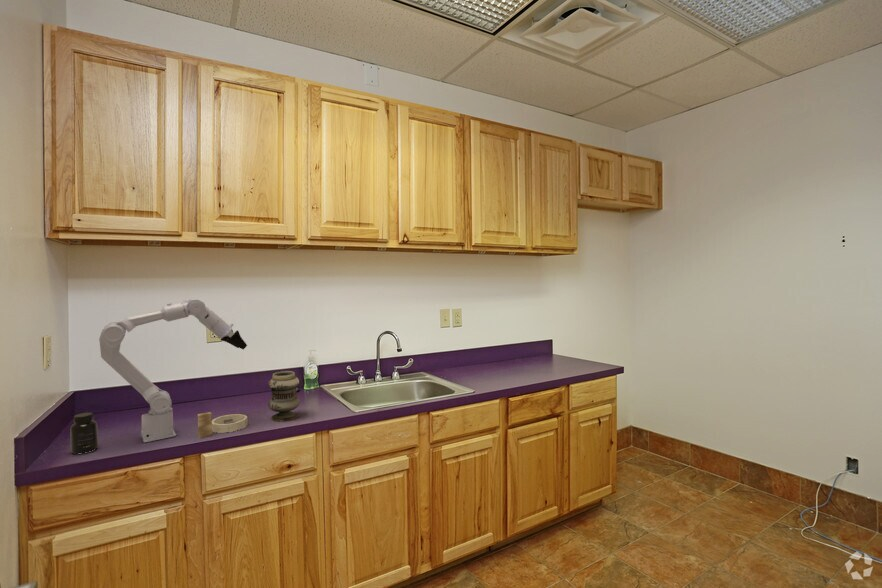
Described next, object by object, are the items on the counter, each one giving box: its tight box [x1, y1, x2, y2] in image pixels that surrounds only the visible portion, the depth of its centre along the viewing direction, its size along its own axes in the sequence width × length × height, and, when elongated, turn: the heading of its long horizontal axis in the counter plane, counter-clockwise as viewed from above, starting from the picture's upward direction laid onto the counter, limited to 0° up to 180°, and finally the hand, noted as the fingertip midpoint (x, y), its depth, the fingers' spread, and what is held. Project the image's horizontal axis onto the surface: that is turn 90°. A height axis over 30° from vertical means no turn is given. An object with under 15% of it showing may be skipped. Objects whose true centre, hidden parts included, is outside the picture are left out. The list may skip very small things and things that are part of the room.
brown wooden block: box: [197, 411, 213, 439], centre depth 152 cm, size 4×2×8 cm, turn 130°
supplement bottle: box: [69, 412, 99, 455], centre depth 139 cm, size 7×7×12 cm
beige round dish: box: [212, 413, 249, 434], centre depth 161 cm, size 12×12×3 cm
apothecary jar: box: [267, 370, 301, 422], centre depth 171 cm, size 12×12×18 cm
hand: (242, 346), depth 167 cm, fingers open, 7 cm apart
